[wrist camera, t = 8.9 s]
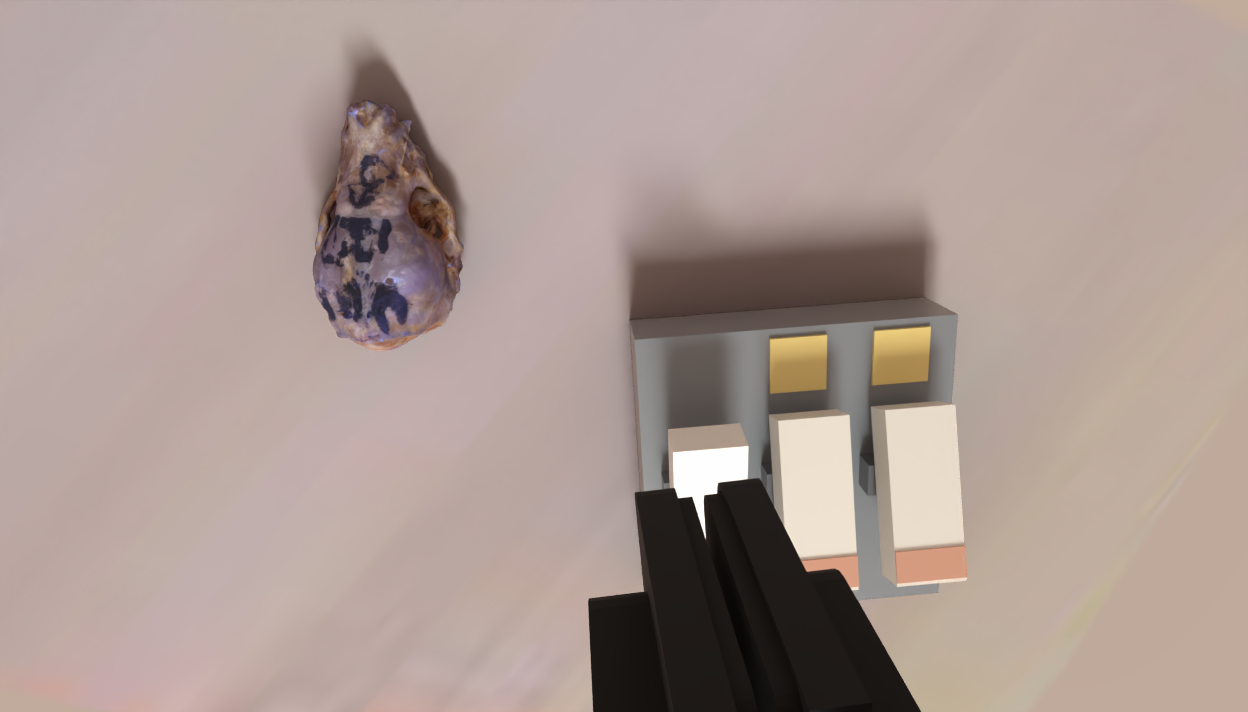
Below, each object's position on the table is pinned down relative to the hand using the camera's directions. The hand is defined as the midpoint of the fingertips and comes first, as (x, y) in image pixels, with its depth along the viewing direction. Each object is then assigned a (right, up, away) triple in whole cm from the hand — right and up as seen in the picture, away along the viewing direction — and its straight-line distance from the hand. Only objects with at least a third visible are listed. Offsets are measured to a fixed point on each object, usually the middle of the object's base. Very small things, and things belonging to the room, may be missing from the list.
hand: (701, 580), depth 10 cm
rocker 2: (+9, -4, +29) cm, 31 cm away
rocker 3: (+14, -4, +29) cm, 33 cm away
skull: (-13, +10, +31) cm, 35 cm away
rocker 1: (+3, -5, +29) cm, 30 cm away
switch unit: (+8, -2, +36) cm, 37 cm away
